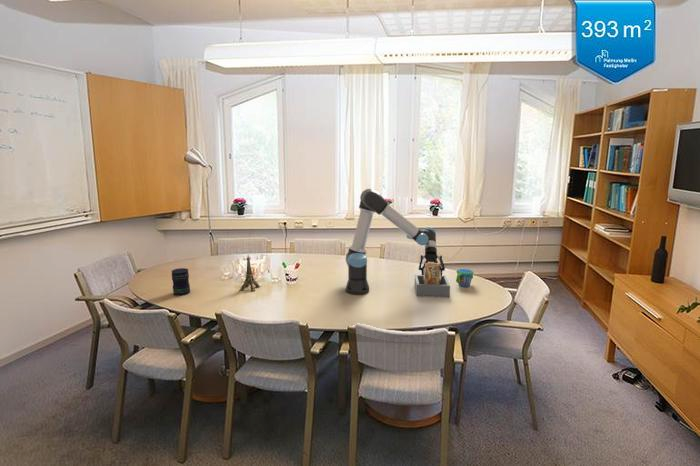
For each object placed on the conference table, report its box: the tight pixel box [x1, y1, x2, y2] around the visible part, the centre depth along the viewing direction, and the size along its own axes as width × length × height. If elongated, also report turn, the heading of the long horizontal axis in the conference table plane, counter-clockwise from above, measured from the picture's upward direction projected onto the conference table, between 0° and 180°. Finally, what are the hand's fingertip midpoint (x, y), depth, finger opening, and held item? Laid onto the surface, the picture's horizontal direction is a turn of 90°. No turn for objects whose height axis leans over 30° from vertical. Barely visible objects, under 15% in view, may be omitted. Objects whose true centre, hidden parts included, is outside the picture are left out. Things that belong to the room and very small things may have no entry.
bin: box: [413, 274, 451, 298], centre depth 262 cm, size 20×20×8 cm
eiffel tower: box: [238, 255, 262, 293], centre depth 265 cm, size 11×11×25 cm
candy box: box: [424, 262, 441, 285], centre depth 261 cm, size 9×4×15 cm, turn 92°
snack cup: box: [455, 268, 474, 288], centre depth 273 cm, size 16×10×10 cm
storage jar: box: [171, 267, 191, 297], centre depth 258 cm, size 10×10×15 cm
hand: (432, 279), depth 258 cm, fingers closed on candy box, 9 cm apart
